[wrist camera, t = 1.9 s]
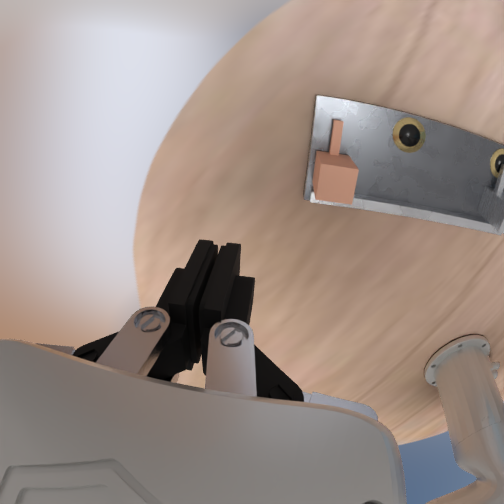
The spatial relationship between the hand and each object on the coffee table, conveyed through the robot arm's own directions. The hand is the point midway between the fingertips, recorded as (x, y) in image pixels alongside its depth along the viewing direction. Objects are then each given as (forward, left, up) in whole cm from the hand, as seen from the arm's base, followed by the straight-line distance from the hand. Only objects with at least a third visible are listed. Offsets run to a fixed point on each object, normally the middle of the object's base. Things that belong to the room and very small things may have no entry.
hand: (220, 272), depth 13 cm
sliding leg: (-7, -2, -17) cm, 19 cm away
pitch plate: (-16, -1, -19) cm, 25 cm away
